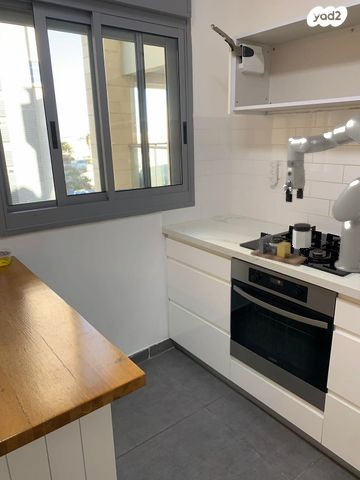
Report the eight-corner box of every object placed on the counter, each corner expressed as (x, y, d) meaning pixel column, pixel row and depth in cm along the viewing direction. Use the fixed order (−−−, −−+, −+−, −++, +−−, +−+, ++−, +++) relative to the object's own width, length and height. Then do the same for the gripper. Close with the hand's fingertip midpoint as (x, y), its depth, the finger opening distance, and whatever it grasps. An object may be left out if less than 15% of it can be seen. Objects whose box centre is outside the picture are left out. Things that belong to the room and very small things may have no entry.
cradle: (278, 256, 173) (279, 247, 172) (275, 257, 171) (275, 249, 170) (275, 255, 174) (275, 246, 173) (271, 256, 172) (271, 248, 171)
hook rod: (290, 255, 169) (290, 243, 167) (284, 257, 166) (284, 245, 164) (262, 248, 181) (262, 237, 179) (256, 251, 177) (256, 239, 176)
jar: (302, 251, 178) (303, 228, 174) (289, 247, 185) (290, 225, 181) (313, 247, 183) (314, 224, 179) (300, 243, 189) (301, 222, 186)
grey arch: (272, 252, 178) (272, 235, 176) (263, 256, 173) (263, 239, 171) (268, 251, 180) (268, 234, 177) (258, 255, 175) (259, 238, 172)
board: (307, 260, 166) (307, 257, 165) (296, 266, 159) (296, 263, 159) (262, 249, 184) (262, 247, 183) (250, 254, 177) (250, 252, 177)
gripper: (292, 166, 158) (291, 204, 163) (312, 162, 169) (310, 198, 174) (278, 165, 163) (277, 202, 168) (297, 162, 174) (296, 196, 179)
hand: (294, 200), depth 171 cm, fingers open, 9 cm apart
